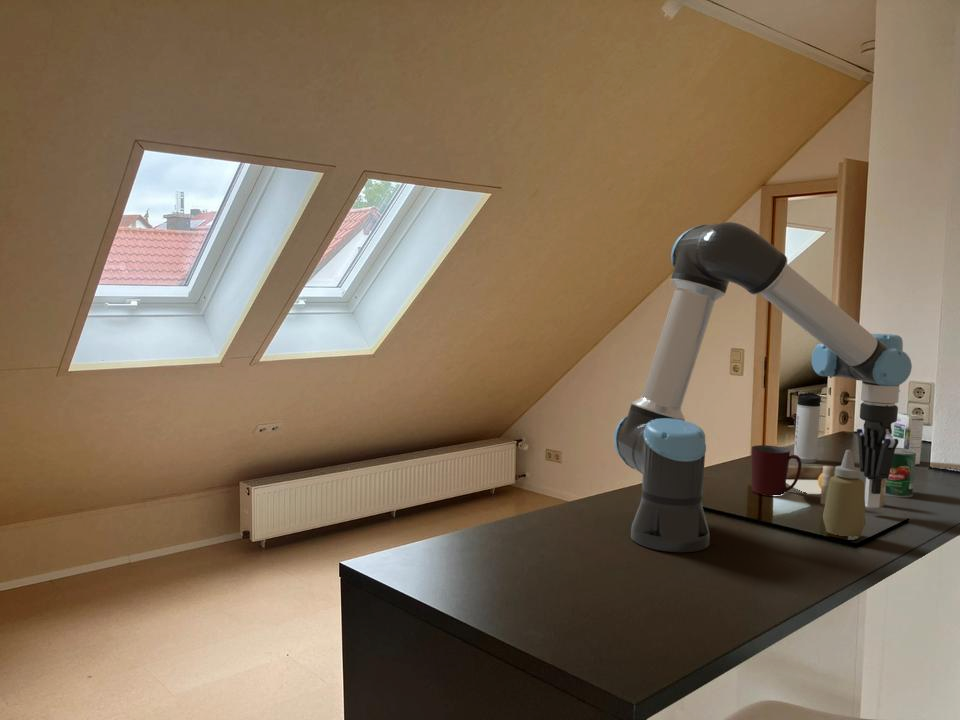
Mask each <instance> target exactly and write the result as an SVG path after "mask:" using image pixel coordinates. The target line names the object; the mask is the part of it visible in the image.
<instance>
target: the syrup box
mask: <svg viewBox="0 0 960 720" xmlns="http://www.w3.org/2000/svg"><path fill="white" fill-rule="evenodd" d="M924 417H925V416H921V415H917V414H911V413H906V412H898V415H897V421H896V422H894V423H893V427H892V437H893V439H898V445H897V447H896V448H904V449H910V450H913V451H916V460H915V465H920V462H921V451H922V441H923V431H924V430H923V429H924V421H925V420H924Z"/></svg>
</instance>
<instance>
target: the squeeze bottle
mask: <svg viewBox="0 0 960 720" xmlns="http://www.w3.org/2000/svg"><path fill="white" fill-rule="evenodd" d="M854 461H855V460H854V455H853V450H851V449H846V450H845V452H844V455H843V457H842V462H841V464H840V465H837V466H834V467H835V475H836V476H833V477H831V478H830V480H829V485H828V491H827V496H826V502H825V506H824V509H823V513H822V519H823V524H824V527H825V531H826V533H827V532H828V533H831V534H834V535H839V536H852V537H854V536H859V535H860V536H861V535H862V532H863V530H864V527H865V526H866V506H865V481H864V480H863V479H861V478H860V477H861V471H860V468H858V467H855V462H854Z"/></svg>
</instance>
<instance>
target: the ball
mask: <svg viewBox="0 0 960 720" xmlns="http://www.w3.org/2000/svg"><path fill="white" fill-rule="evenodd" d="M822 474H823V473H822ZM822 474H821V475H820V476H819V478H818V479H817V480H818V484H819V487H820V488H821V489H822ZM835 476H836V475H835Z"/></svg>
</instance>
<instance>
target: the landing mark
mask: <svg viewBox="0 0 960 720" xmlns="http://www.w3.org/2000/svg"><path fill="white" fill-rule="evenodd" d="M794 480H795V479H786V484H787V485H789V487H790V486H791V485H792V483H793V482H794ZM793 489H795V490H797V489H798V490H797V491H799V490H800V491H799V492H801V491H802V492H801V493H803V492H806V493H807V494H806V495H820V494H821V488H820V487H819V484H818V479H798V481H797V483H796V484H795V486H794V487H793Z"/></svg>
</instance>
